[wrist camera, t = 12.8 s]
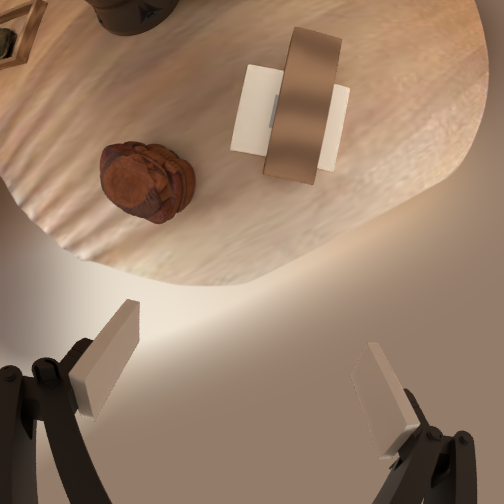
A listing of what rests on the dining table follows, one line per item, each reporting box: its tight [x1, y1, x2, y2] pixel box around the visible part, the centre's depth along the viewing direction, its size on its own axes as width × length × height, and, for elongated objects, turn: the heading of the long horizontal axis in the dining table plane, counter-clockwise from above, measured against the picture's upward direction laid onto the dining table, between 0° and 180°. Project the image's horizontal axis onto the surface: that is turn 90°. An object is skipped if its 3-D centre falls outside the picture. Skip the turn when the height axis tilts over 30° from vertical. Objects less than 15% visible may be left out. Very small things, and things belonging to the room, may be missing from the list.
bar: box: [263, 27, 342, 185], centre depth 31 cm, size 18×6×5 cm, turn 169°
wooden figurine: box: [100, 141, 195, 224], centre depth 36 cm, size 12×6×18 cm, turn 51°
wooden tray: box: [0, 0, 48, 70], centre depth 32 cm, size 15×22×4 cm
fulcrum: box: [230, 64, 350, 172], centre depth 37 cm, size 14×16×9 cm
